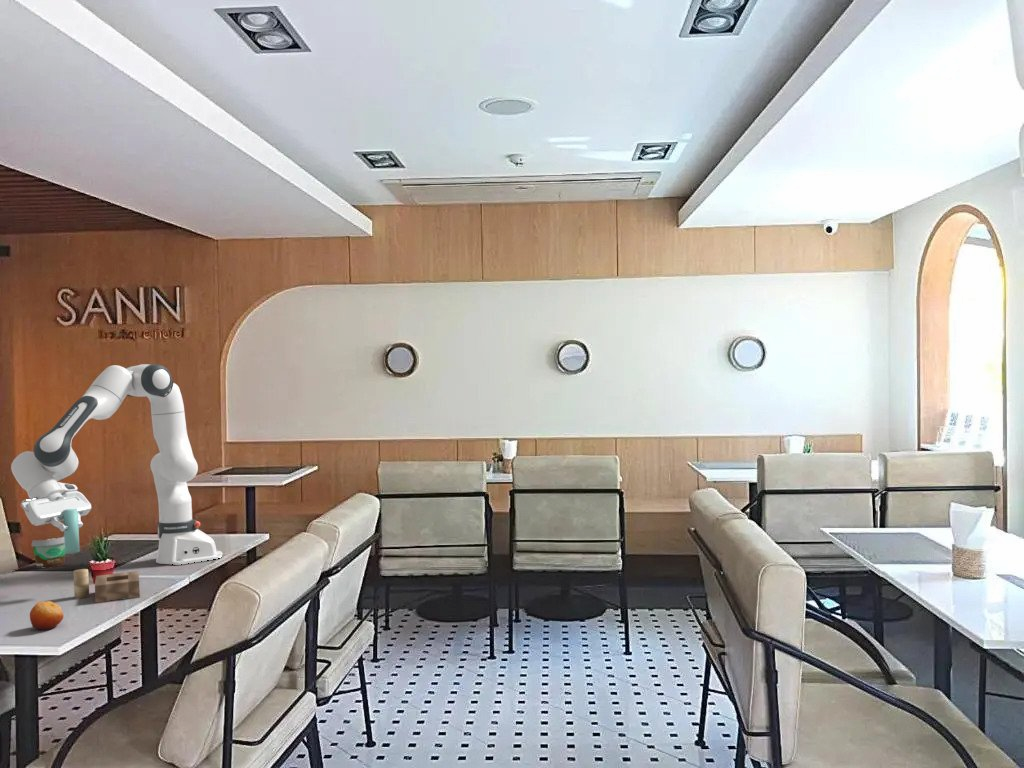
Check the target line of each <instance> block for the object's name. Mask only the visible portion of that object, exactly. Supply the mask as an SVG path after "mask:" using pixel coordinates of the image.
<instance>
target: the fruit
mask: <svg viewBox="0 0 1024 768" xmlns="http://www.w3.org/2000/svg"><path fill="white" fill-rule="evenodd" d="M63 619H64V612H63V609H62V608H61V606H60V605H59V604H57V603H55V602H53V601H50V600H48V601H43V600H42V601H39V602H37V603H36V604H35V605H34V606H33V607H32V608H31V610H30V611H29V620H30V623H31V627H32V628H31V629H32V630H34V629H38V630H48V629H49V630H52V629H54V628H55V627H57V625H59V624H60V623H61V622H63ZM51 628H52V629H51Z"/></svg>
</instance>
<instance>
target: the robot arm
mask: <svg viewBox="0 0 1024 768" xmlns="http://www.w3.org/2000/svg"><path fill="white" fill-rule="evenodd" d="M126 397H139V398H140V397H141V398H145V397H147V398H148V400H149V403H150V413H151V415H150V416H151V423H152V431H153V438H154V441H155V442H156V445H157V447H158V451H159V452H158V453H156V454H155V455H154V456H153V457H152V458H151V461H150V463H149V464H150V465H149V466H150V470H151V472H152V476H153V480H154V486H155V491H156V495H157V501H158V523H157V536H158V549H157V555H156V559H155V563H156V564H160V565H172V564H173V566H181V564H182V565H187V564H188V563H189V564H195V563H201V561H202V562H208V561H207V560H209V561H214V560H213V559H216V560H219V559H218V558H220V559H222V558H223V557H222V555H223V554H224V553H223V552H222V551H221V550H218V549H217V547H216V542H215V540H214V539H213V538H212V537H211V536H210V535H208V534H207V533H205V532H203V531H202V530H201V529H199V528H200V527H201V522H200V521H198V520H197V519H194V518H193V507H192V506H193V505H192V501H193V500H192V496H191V494H190V492H189V487H188V484H187V482H189V481H192V480H194V478H195V477H196V476H197V474H198V471H199V467H198V466H199V465H198V462H197V460H196V458H195V456H194V452H193V449H192V446H191V443H190V439H189V437H188V435H189V434H188V429H187V423H186V413H185V405H184V400H183V395H182V393H181V389H180V387H179V385H178V384H176V383H175V382H174V380H173V378H172V374H171V372H170V370H169V369H168V368H167V367H166V366H163V365H161V364H157V363H151V364H149V363H147V364H146V363H143V364H142V363H141V364H139V365H134V366H132V365H131V366H127V367H124V366H121V365H117V364H115V365H114V364H113V365H110V366H107V367H106V368H105V369H104V370H103V371H102V372H101V373H100V374H99V375H98V376H97V377H96V378H95V380H94V381H93V382H92V383H91V385H90V386H89V387H88V388H87V390H86V391H85V393H84V394H83V395H82V396H81V397H80V398H78V399H77V400H76V401H75V402H74V403H73V404H72V406H70V408H69V409H68V410H67V411H66V412H65V414H64V415H63V416H62V417H61V418H60V419H59V420H58V422H57V423H56V424H55V425H54V426H53V427H52V428H51V429H49V430H48V431H47V432H45V433H44V434H42V435H41V436H40V437H39V438H37V440H36V442H35V443H34V446H33V451H29V450H27V451H23V452H21V453H19V454H18V455H17V456H16V457H14V459H13V461H12V462H11V465H10V466H11V467H10V470H11V473H12V475H13V477H14V479H15V480H16V481H17V483H18V484H19V485H20V487H21V488H22V489H23V490H24V491H26V493H27V496H28V498H26V499H22V501H21V503H20V506H21V508H22V509H23V511H24V513H25V516H26V518H27V519H28V520H29V523H31V525H33V526H36V527H37V526H43V525H47V524H51V525H52V526H53V527H56V528H58V529H59V530H60V532H63V533H64V531H67V529H68V526H67V524H66V523H64V522H63V521H64V518H63V510H67V509H78V526H79V529H80V528H82V527H83V525H84V523H83V522H82V520H81V517H84V516H87V515H88V514H89V513H90V512H91V510H92V503H91V502H90V501H89V500H88V499H87V497H86V496H85V495H84V494H83V493H82V492H80V491H78V489H79V488H78V487H77V485H76V484H73V483H72V484H70V483H66V482H61V481H63V480H64V479H66V478H69V477H70V476H72V475H73V474H75V472H76V471H77V470H78V468H79V464H80V460H79V458H78V456H77V454H76V452H75V450H74V449H73V448H72V440H73V438H74V437H75V436H76V435H77V434H78V432H79V431H80V430H81V428H82V427H84V425H85V424H86V423H87V422H88V421H89V420H91V419H94V420H96V421H98V420H100V421H102V420H107V419H110V418H111V417H112V416H113V415H114V414H115V413H116V412H117V410H118V409H119V408H120V406H121V405H122V403H123V402H124V400H125V398H126ZM221 557H222V558H221ZM194 562H195V563H194Z"/></svg>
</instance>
